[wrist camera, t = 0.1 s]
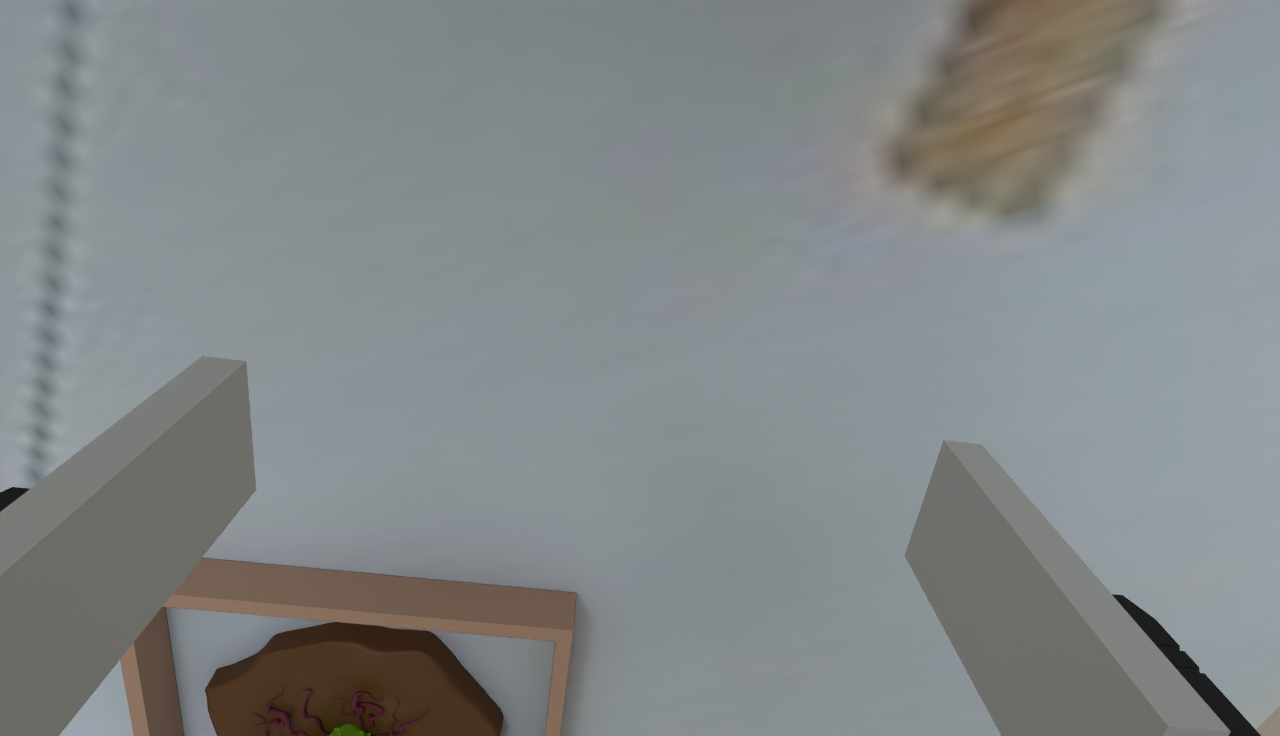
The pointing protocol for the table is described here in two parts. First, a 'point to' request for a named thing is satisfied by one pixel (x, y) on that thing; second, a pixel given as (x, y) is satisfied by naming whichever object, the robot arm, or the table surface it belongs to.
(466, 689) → the plant
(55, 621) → the robot arm
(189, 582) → the plant saucer
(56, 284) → the table surface
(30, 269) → the table surface
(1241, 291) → the table surface
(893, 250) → the table surface
